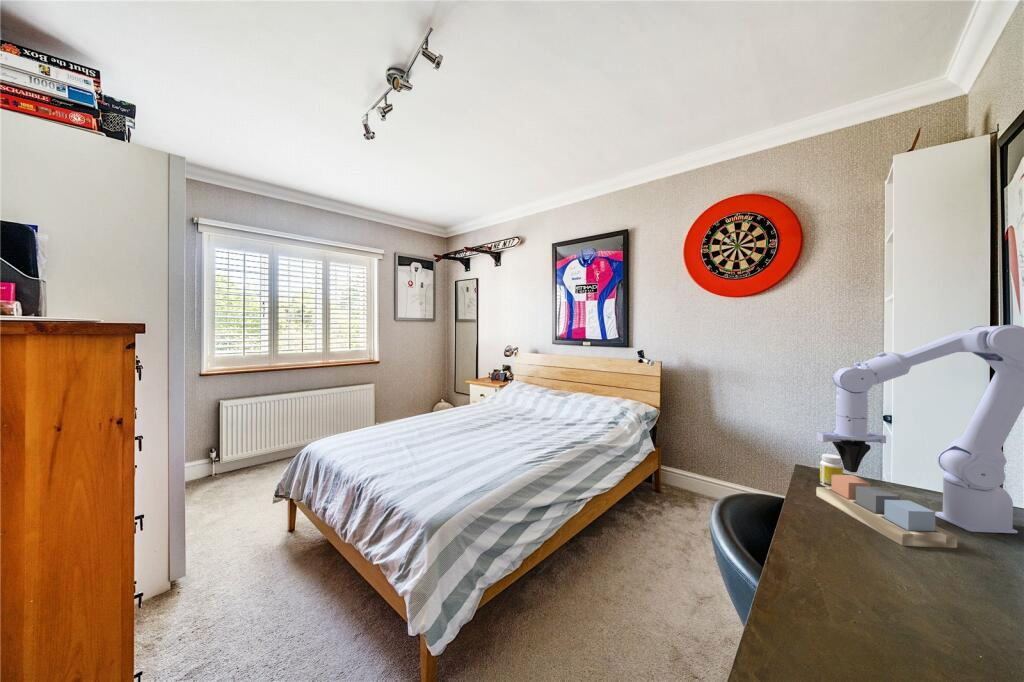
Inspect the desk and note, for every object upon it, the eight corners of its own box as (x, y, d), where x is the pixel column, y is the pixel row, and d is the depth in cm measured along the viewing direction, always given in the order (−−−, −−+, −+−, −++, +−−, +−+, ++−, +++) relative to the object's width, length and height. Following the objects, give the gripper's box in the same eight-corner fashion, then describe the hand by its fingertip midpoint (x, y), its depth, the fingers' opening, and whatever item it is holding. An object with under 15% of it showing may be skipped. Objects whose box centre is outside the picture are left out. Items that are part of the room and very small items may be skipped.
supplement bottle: (847, 489, 97) (848, 458, 97) (829, 489, 97) (830, 458, 97) (832, 482, 102) (832, 453, 102) (815, 482, 102) (815, 453, 102)
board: (857, 497, 92) (857, 488, 92) (957, 547, 70) (957, 535, 70) (816, 496, 93) (816, 487, 93) (902, 545, 71) (902, 533, 71)
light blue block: (909, 518, 77) (909, 500, 77) (934, 531, 72) (935, 511, 72) (884, 518, 77) (884, 499, 77) (908, 530, 72) (908, 511, 72)
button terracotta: (852, 490, 91) (852, 475, 91) (870, 499, 86) (870, 483, 86) (831, 490, 91) (831, 474, 91) (848, 499, 86) (848, 482, 86)
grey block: (878, 503, 84) (878, 486, 84) (899, 514, 79) (900, 496, 79) (855, 502, 84) (855, 486, 84) (875, 513, 79) (875, 495, 79)
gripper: (867, 413, 92) (867, 465, 92) (808, 412, 93) (807, 464, 93) (895, 419, 85) (894, 476, 85) (830, 418, 86) (829, 474, 86)
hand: (850, 470), depth 89 cm, fingers closed
